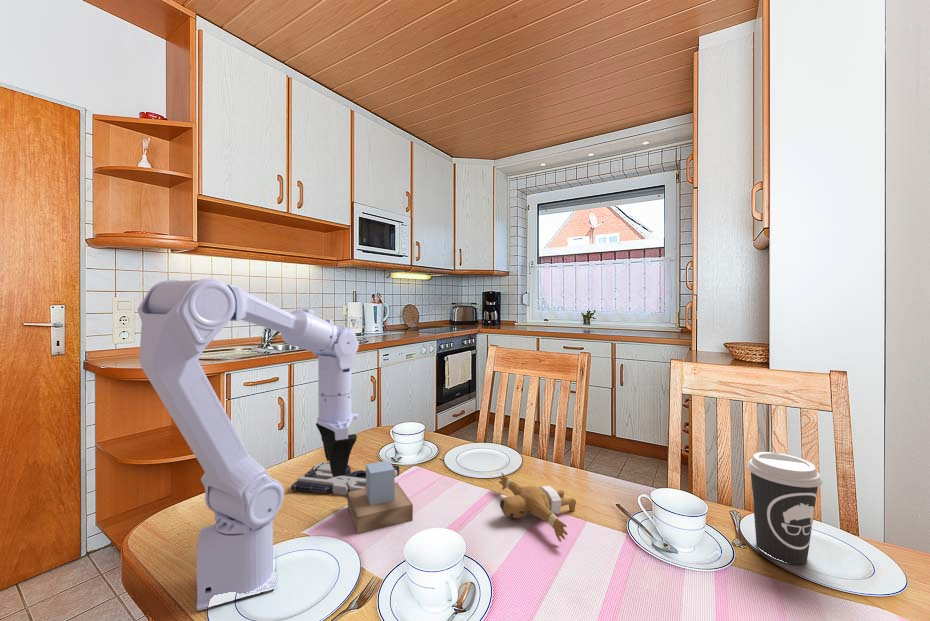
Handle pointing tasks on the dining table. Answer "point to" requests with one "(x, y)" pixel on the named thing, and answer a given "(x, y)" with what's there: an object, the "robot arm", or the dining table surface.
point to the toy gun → (332, 480)
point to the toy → (535, 503)
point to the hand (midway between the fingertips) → (335, 467)
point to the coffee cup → (783, 504)
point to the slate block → (380, 482)
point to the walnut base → (379, 510)
